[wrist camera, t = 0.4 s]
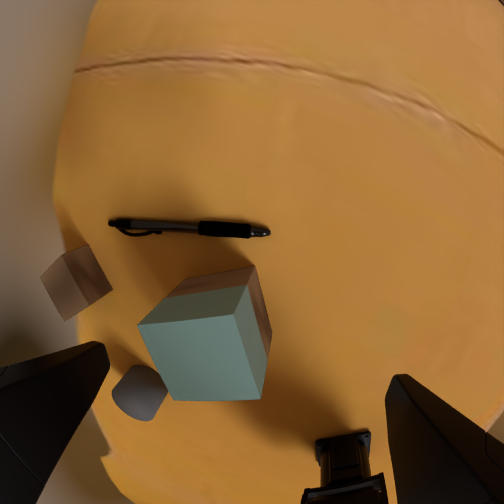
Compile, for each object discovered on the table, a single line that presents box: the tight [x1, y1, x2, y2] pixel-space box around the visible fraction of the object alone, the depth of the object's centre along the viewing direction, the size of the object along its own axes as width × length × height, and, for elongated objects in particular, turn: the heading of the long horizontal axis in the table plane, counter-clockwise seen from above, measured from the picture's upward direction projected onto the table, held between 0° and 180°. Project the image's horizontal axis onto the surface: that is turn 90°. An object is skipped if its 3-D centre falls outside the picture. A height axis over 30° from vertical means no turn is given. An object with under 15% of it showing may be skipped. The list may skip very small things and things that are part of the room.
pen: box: [108, 218, 271, 239], centre depth 21 cm, size 14×2×1 cm, turn 88°
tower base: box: [166, 266, 272, 360], centre depth 20 cm, size 6×6×4 cm
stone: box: [112, 365, 168, 421], centre depth 25 cm, size 5×5×4 cm
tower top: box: [137, 285, 268, 401], centre depth 17 cm, size 6×6×4 cm
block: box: [40, 244, 113, 321], centre depth 22 cm, size 5×5×4 cm
